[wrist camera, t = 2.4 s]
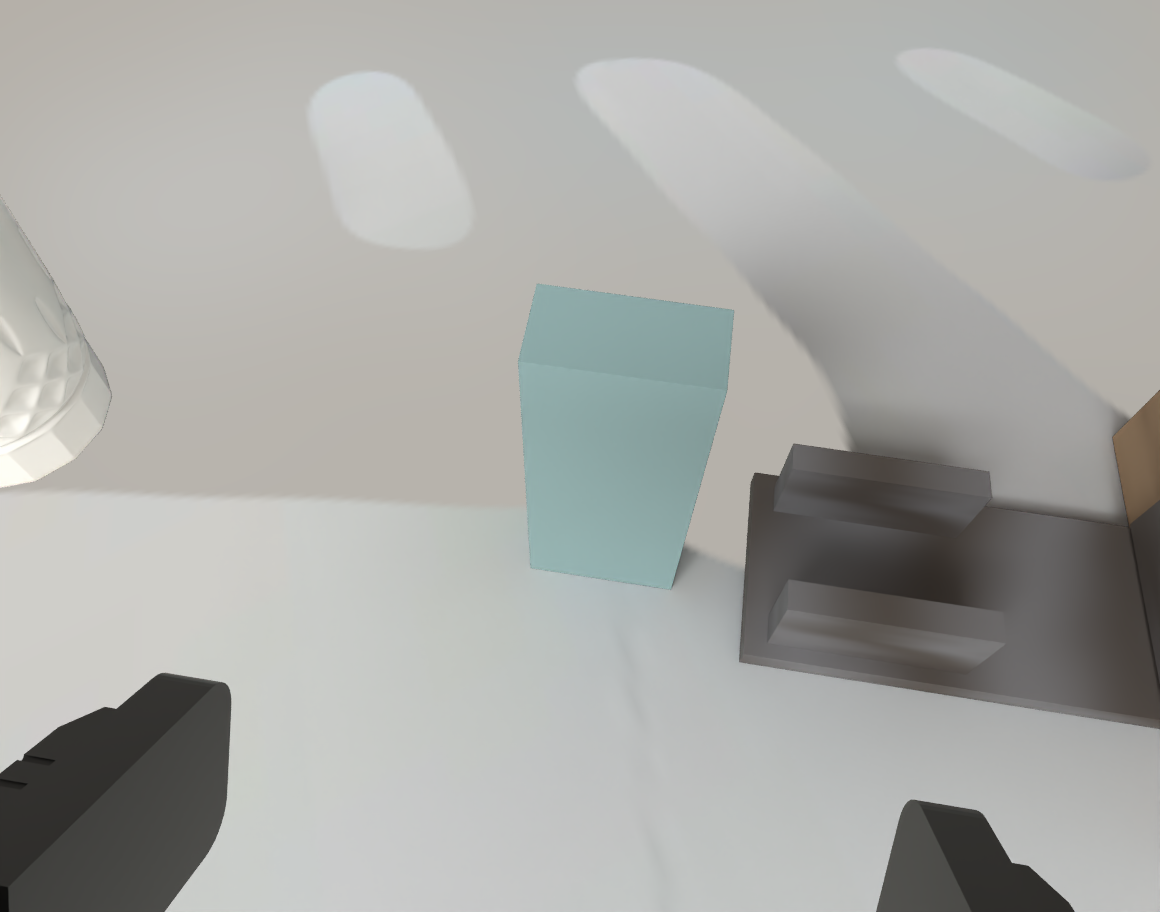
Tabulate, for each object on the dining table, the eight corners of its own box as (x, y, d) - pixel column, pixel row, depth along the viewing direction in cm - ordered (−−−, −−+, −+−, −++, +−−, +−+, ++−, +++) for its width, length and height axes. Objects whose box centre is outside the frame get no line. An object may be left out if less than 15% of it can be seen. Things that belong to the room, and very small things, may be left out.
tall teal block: (680, 505, 33) (736, 283, 23) (670, 589, 31) (727, 390, 21) (547, 485, 33) (543, 257, 23) (530, 567, 31) (517, 361, 21)
